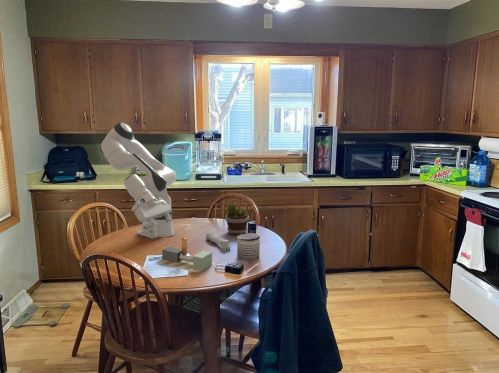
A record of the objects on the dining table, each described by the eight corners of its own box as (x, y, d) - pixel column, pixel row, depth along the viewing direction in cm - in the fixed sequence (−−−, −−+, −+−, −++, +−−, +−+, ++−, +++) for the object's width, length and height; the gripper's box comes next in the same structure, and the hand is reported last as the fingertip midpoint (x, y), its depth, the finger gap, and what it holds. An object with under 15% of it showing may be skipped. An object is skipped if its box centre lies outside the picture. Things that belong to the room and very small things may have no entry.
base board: (155, 264, 181) (155, 262, 181) (174, 254, 194) (174, 253, 193) (198, 275, 170) (198, 272, 170) (215, 264, 182) (215, 262, 182)
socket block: (193, 268, 175) (193, 256, 174) (203, 262, 182) (203, 250, 181) (202, 270, 172) (202, 258, 171) (212, 264, 179) (211, 252, 178)
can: (242, 263, 183) (242, 240, 181) (233, 255, 194) (233, 233, 191) (263, 260, 188) (263, 237, 186) (254, 252, 198) (254, 230, 196)
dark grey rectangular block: (162, 259, 185) (162, 249, 184) (169, 256, 189) (168, 246, 188) (177, 262, 181) (177, 253, 180) (183, 259, 185) (183, 249, 184)
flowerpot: (248, 228, 239) (249, 197, 235) (249, 236, 224) (249, 203, 220) (225, 228, 238) (225, 197, 234) (224, 236, 223) (224, 203, 219)
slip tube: (166, 257, 185) (165, 235, 183) (170, 255, 187) (169, 234, 185) (193, 263, 178) (192, 241, 176) (196, 261, 180) (196, 239, 178)
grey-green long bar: (212, 231, 220) (232, 238, 198) (213, 243, 220) (232, 251, 198) (204, 233, 217) (223, 240, 195) (205, 244, 218) (223, 252, 196)
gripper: (157, 201, 197) (173, 222, 194) (128, 210, 179) (145, 233, 177) (164, 194, 194) (180, 214, 192) (135, 202, 176) (152, 225, 174)
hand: (163, 223), depth 184 cm, fingers open, 8 cm apart
